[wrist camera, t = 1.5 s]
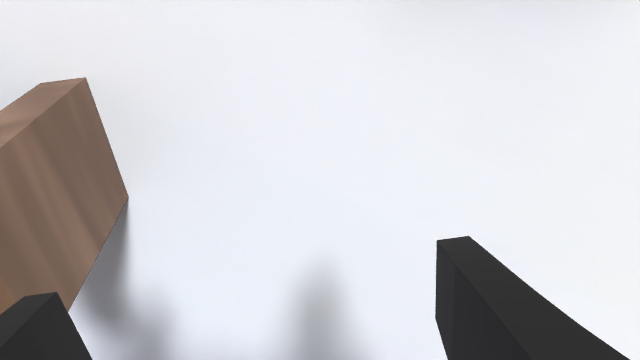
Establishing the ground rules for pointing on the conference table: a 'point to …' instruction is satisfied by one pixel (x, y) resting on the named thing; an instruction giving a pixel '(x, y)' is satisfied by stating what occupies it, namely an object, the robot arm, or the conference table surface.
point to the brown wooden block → (54, 191)
